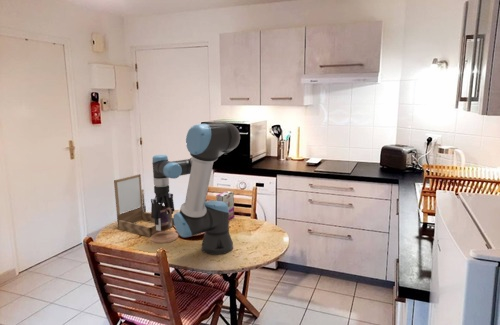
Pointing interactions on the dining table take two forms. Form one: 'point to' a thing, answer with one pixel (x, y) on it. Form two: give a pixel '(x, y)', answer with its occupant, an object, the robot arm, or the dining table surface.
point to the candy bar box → (227, 201)
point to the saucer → (164, 237)
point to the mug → (165, 217)
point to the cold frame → (137, 215)
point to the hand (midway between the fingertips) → (164, 227)
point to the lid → (128, 193)
